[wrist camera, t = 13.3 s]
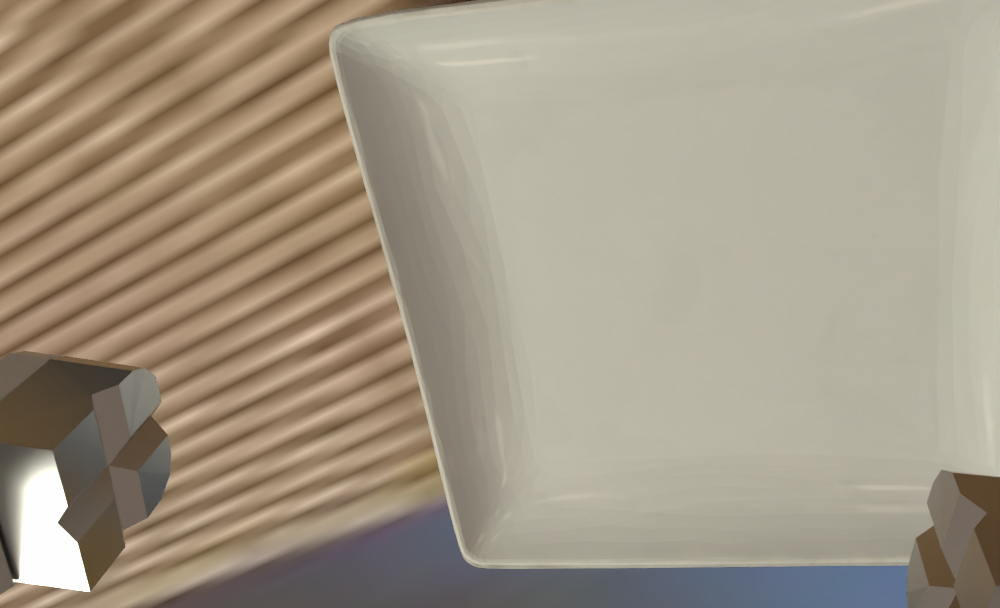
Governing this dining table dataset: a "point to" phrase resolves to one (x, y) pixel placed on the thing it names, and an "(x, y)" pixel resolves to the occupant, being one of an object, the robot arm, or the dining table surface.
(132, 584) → the dining table surface
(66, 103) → the dining table surface
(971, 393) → the square plate
